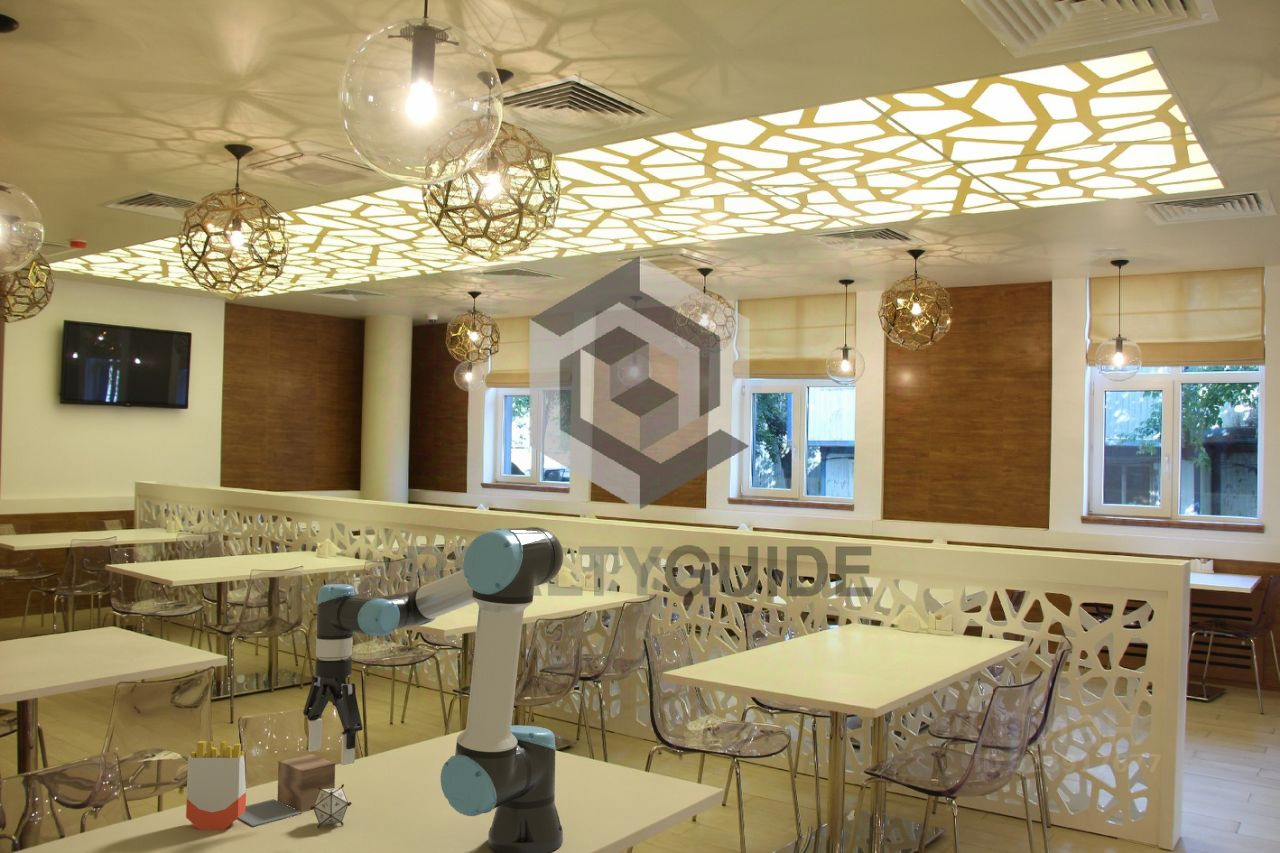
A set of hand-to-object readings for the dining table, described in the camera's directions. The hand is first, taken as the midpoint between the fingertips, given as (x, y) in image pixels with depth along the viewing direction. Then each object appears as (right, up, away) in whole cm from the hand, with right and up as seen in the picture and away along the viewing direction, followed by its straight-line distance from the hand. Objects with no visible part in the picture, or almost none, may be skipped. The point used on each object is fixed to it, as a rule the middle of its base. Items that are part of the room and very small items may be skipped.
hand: (330, 757), depth 208 cm
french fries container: (-24, -14, -2) cm, 28 cm away
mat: (-17, -14, +6) cm, 23 cm away
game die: (0, -14, -1) cm, 14 cm away
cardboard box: (-10, -15, +13) cm, 22 cm away
